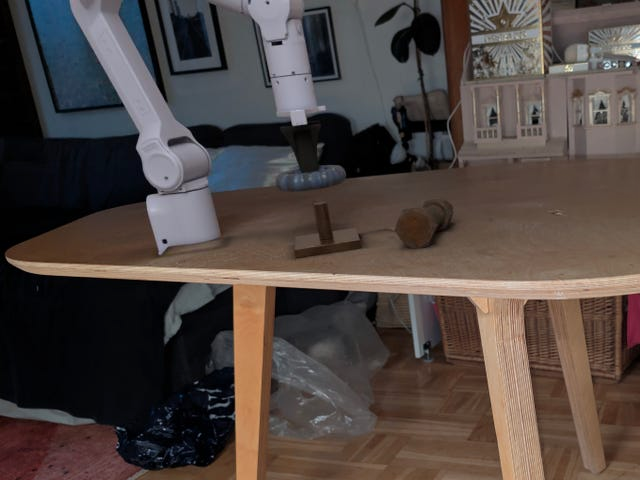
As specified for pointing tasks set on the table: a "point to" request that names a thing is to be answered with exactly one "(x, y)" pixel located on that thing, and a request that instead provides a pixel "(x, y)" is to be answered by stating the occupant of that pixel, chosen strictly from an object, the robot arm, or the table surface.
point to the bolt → (423, 222)
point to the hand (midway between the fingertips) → (310, 174)
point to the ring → (310, 179)
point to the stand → (325, 236)
